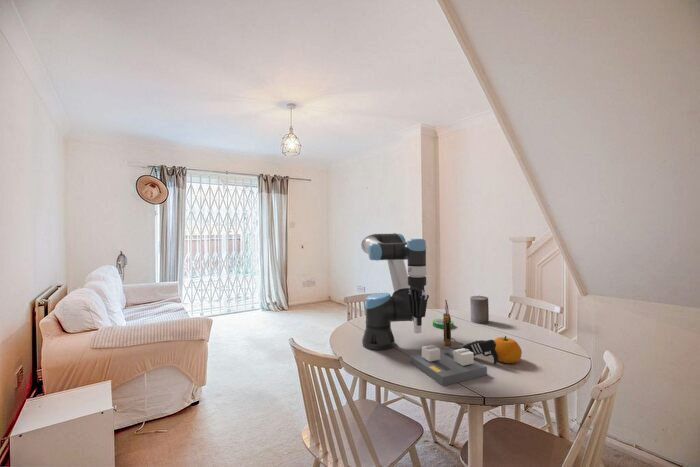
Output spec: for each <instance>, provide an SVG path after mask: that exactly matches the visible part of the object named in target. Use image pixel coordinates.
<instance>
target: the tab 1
mask: <svg viewBox="0 0 700 467" xmlns="http://www.w3.org/2000/svg"><path fill="white" fill-rule="evenodd" d="M440 350H441V348H439V347H437V346H436V345H433V344H430V345H425V346H424V345H423V346H421V354H422V357H423V358H424V359H426V360H427V361H429V362H431V361H435V360H440Z"/></svg>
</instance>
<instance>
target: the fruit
mask: <svg viewBox="0 0 700 467" xmlns="http://www.w3.org/2000/svg"><path fill="white" fill-rule="evenodd" d="M493 340H494V341H495V343H496V347H495V351H496V353H497V356H498V362H501V363H503V364H504V363H505V364H514V363H517V362H519V361H520V360H521V359H522V354H523V352H522V348H521V346H520V344H519V343H518V342H517V341H516V340H515V339H513V338H510V337H507V335H505V336H501V337H500V336H499V337H496V338H494V339H493ZM491 356H492V357H493V355H491Z"/></svg>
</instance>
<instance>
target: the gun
mask: <svg viewBox="0 0 700 467" xmlns="http://www.w3.org/2000/svg"><path fill="white" fill-rule="evenodd" d="M494 340H495V339H487V340H486V339H485V340H484V339H482V340H481V339H480V340H478V339H477V340H475V341H470V342H468V343H466V344H465V345H463V346H462V347H461V349H463V348H465V349H469V351H471V352H473V353H474V356H478V355H482V356H484V357H489V356H492V355H493V356H492V357H493V364H494V365H495V364H497V363H498V362H499V361H498V356H497V353H496V351H495V347H496V343H495V341H494ZM486 353H487V354H486Z"/></svg>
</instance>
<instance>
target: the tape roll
mask: <svg viewBox="0 0 700 467" xmlns="http://www.w3.org/2000/svg"><path fill="white" fill-rule="evenodd" d="M454 323H455V322H454V321H453V320H451V329H453V328H454V326H455V325H454ZM432 327H434V328H436V329H440V330H444V320H443V318H437V319H433V320H432Z"/></svg>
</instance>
